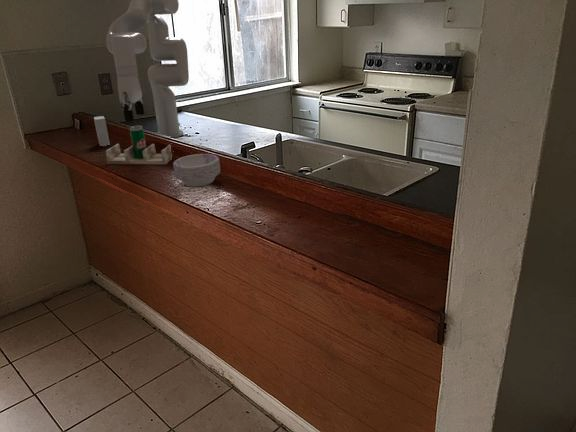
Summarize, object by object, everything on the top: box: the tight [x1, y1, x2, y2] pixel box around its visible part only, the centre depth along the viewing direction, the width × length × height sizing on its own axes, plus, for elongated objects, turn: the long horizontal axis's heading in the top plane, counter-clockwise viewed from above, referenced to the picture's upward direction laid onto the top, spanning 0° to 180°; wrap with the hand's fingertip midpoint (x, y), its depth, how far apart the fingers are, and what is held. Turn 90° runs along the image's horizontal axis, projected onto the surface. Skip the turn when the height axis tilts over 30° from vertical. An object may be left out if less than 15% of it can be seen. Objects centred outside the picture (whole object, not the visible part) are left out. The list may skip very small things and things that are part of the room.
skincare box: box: [93, 115, 111, 147], centre depth 216 cm, size 6×4×12 cm
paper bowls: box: [172, 153, 221, 188], centre depth 166 cm, size 15×15×8 cm
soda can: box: [129, 125, 147, 159], centre depth 191 cm, size 5×5×12 cm
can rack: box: [105, 143, 173, 165], centre depth 193 cm, size 10×24×5 cm, turn 82°
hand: (135, 117), depth 188 cm, fingers open, 9 cm apart
